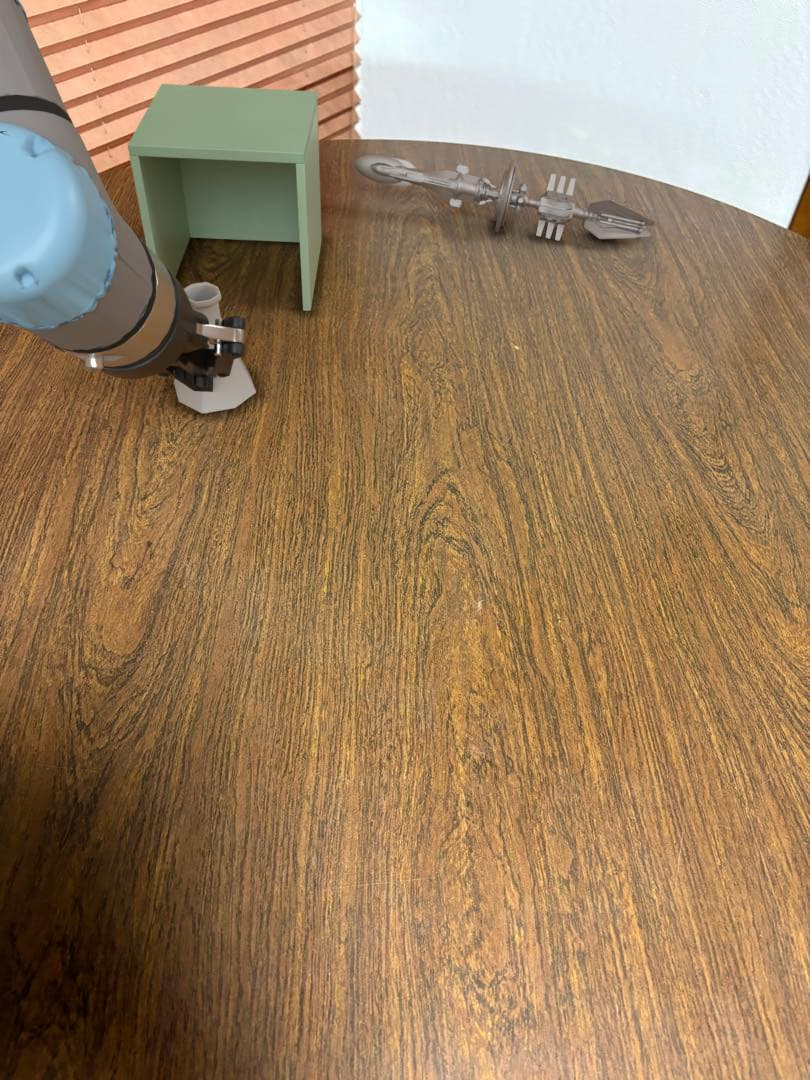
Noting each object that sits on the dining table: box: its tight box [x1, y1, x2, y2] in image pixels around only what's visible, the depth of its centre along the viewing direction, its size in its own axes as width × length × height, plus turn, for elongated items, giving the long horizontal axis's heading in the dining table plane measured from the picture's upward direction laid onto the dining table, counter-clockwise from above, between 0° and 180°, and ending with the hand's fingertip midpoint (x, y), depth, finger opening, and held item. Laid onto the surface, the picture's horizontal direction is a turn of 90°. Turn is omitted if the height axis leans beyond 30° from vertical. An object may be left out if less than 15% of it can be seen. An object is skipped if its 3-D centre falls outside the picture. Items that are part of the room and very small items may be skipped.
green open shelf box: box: [127, 83, 323, 312], centre depth 87 cm, size 15×16×16 cm
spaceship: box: [354, 153, 655, 242], centre depth 99 cm, size 8×35×8 cm
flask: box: [173, 281, 257, 414], centre depth 75 cm, size 7×7×10 cm
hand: (203, 375), depth 73 cm, fingers closed
